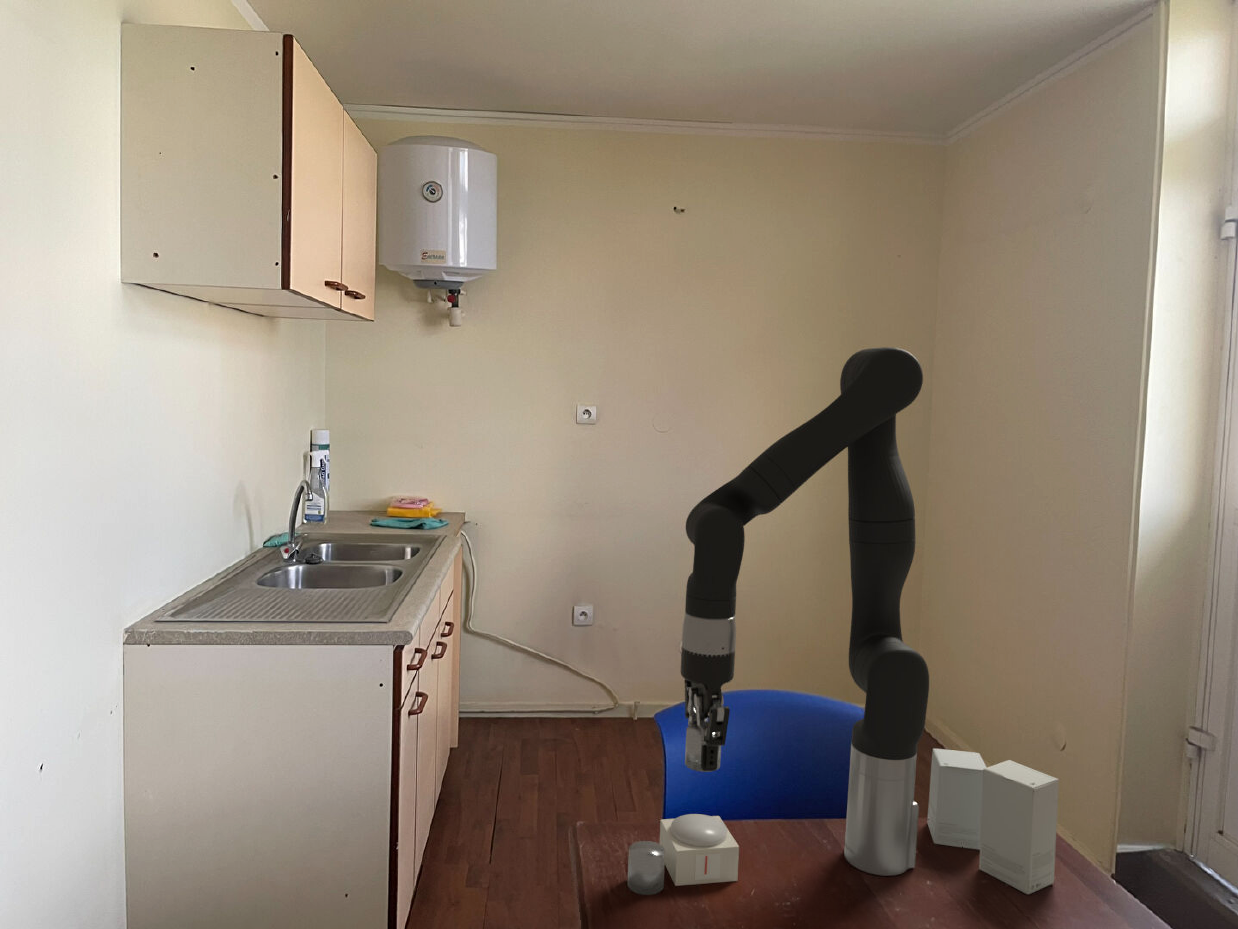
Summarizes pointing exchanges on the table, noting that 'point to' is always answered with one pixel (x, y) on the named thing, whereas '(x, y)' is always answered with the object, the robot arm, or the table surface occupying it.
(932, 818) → the supplement box
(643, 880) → the cylinder
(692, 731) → the cylinder
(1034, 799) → the skincare box
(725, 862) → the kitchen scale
